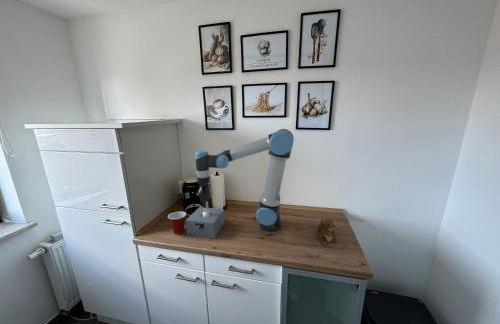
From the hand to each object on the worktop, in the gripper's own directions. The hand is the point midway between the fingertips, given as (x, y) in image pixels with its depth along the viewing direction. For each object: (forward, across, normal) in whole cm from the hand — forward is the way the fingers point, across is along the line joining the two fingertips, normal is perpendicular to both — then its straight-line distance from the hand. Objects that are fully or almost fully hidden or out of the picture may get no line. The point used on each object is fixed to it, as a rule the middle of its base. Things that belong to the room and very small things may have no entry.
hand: (205, 211), depth 127 cm
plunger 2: (+6, -8, 0) cm, 10 cm away
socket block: (+12, 0, 0) cm, 12 cm away
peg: (+12, -1, 0) cm, 12 cm away
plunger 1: (+6, +8, 0) cm, 10 cm away
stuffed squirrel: (+13, -6, +73) cm, 75 cm away
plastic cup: (+12, +7, -16) cm, 22 cm away
